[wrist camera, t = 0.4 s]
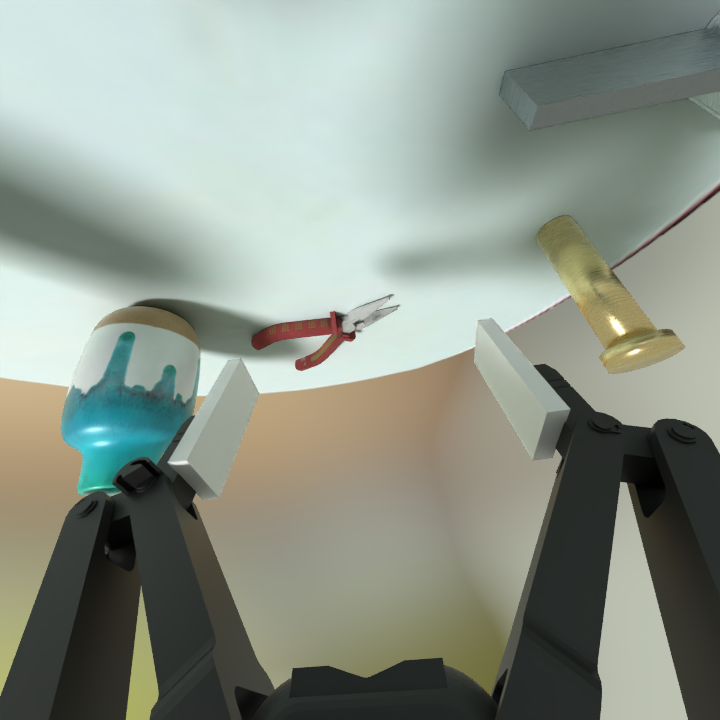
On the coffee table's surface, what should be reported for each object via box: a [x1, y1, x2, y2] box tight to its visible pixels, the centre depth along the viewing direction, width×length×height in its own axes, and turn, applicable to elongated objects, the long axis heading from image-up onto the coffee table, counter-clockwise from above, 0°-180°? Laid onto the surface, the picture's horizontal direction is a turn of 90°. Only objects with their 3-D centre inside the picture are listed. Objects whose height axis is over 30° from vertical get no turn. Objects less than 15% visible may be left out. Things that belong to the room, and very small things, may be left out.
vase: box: [61, 306, 200, 495], centre depth 30 cm, size 11×11×19 cm
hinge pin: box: [536, 215, 685, 374], centre depth 28 cm, size 5×5×16 cm
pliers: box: [252, 297, 397, 371], centre depth 41 cm, size 12×20×3 cm, turn 119°
